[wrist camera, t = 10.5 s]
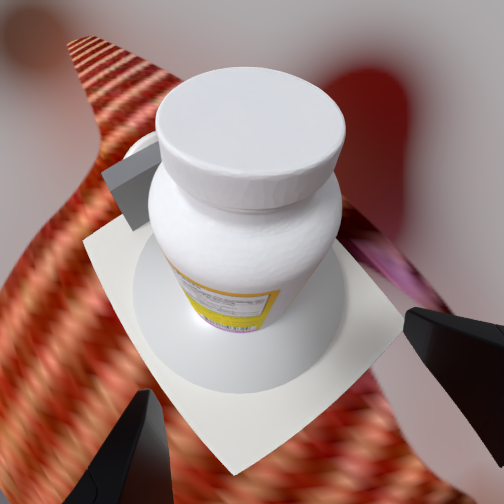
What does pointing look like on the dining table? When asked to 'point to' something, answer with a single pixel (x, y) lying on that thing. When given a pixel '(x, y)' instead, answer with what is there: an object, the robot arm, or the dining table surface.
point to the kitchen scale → (233, 344)
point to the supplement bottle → (246, 191)
